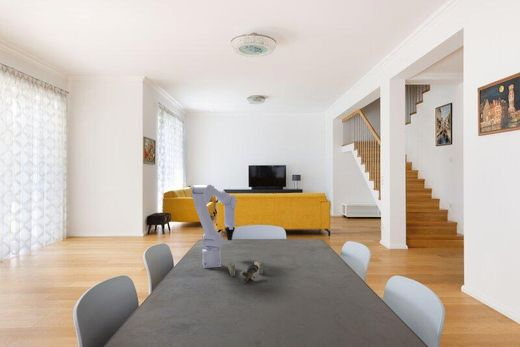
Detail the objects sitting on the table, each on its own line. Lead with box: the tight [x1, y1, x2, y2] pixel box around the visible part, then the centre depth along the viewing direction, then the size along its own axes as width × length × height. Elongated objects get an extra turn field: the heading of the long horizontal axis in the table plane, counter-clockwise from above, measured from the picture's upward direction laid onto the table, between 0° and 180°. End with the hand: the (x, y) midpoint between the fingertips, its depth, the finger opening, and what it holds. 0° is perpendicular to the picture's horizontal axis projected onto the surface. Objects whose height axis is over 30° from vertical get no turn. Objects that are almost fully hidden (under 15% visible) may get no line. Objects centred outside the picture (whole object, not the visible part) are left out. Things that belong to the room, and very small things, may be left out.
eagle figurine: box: [239, 264, 259, 284], centre depth 142 cm, size 8×7×9 cm
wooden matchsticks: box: [227, 260, 264, 278], centre depth 154 cm, size 16×14×5 cm
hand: (229, 240), depth 179 cm, fingers closed
